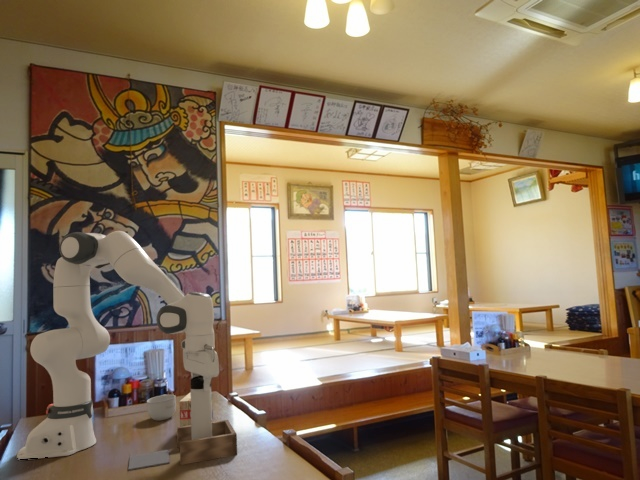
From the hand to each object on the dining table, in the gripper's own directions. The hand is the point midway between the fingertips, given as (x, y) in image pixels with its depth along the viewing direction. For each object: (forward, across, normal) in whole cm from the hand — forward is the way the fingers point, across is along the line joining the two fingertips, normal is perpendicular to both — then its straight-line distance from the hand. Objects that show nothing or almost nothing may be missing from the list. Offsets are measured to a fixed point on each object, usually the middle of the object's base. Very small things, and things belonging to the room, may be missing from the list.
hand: (201, 388), depth 143 cm
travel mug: (+16, 0, 0) cm, 17 cm away
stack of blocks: (+19, +25, -8) cm, 33 cm away
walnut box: (+19, 0, 0) cm, 19 cm away
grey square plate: (+19, +4, +15) cm, 24 cm away
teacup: (+19, +48, -3) cm, 52 cm away
